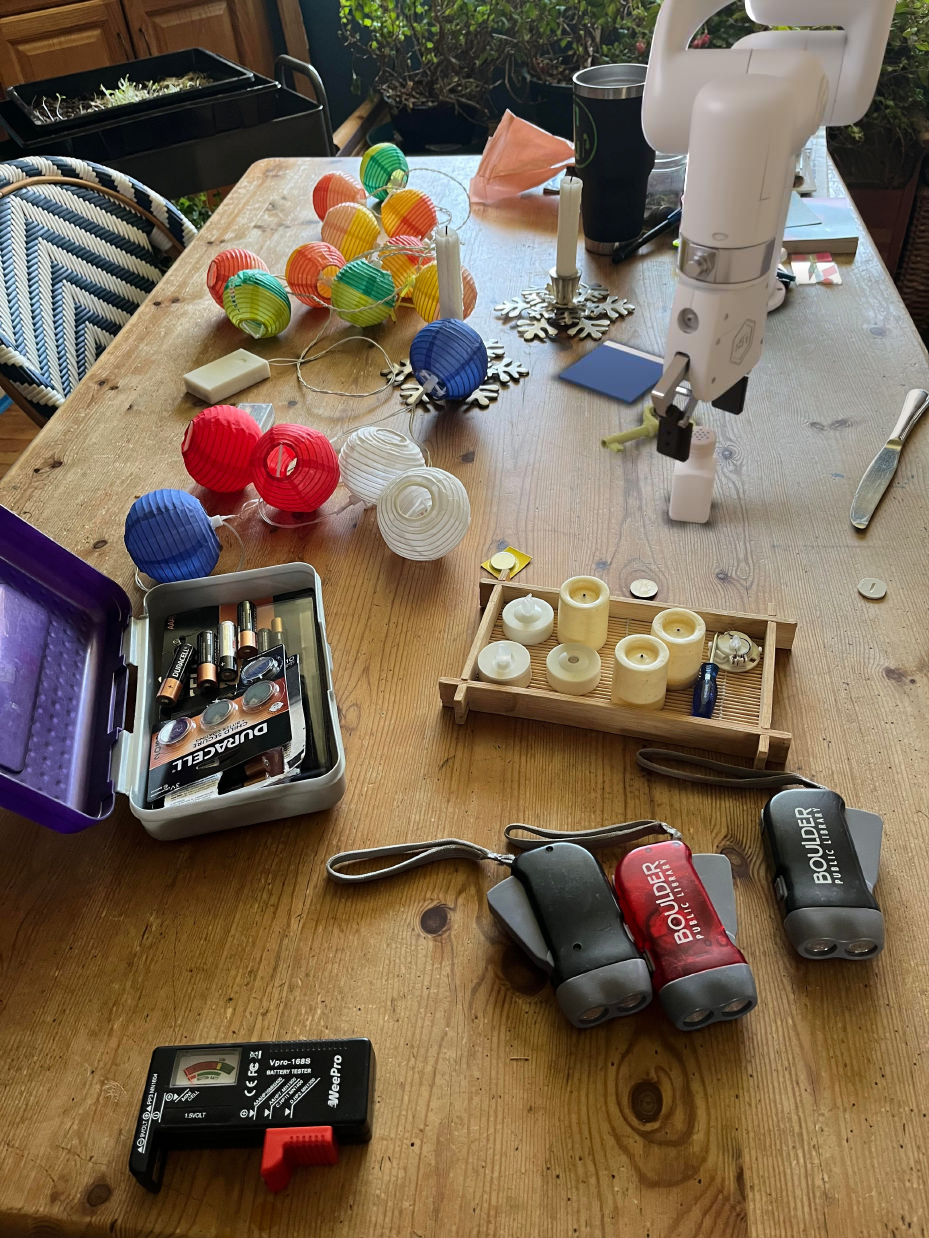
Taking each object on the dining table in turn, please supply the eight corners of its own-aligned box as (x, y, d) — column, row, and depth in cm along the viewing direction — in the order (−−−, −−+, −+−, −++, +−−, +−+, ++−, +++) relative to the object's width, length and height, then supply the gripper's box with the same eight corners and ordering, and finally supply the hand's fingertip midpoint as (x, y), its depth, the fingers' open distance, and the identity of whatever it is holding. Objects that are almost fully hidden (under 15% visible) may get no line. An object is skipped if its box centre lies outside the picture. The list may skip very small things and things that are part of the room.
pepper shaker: (671, 498, 92) (680, 421, 85) (710, 502, 91) (722, 424, 84) (667, 521, 89) (676, 444, 83) (707, 526, 88) (719, 448, 82)
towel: (608, 342, 116) (608, 339, 116) (679, 366, 110) (679, 363, 110) (558, 378, 111) (558, 375, 110) (630, 404, 105) (630, 401, 105)
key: (596, 456, 98) (596, 440, 97) (654, 407, 104) (656, 391, 103) (650, 478, 95) (652, 462, 93) (708, 426, 101) (710, 410, 99)
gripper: (709, 305, 65) (685, 490, 77) (817, 227, 73) (780, 405, 85) (625, 281, 69) (615, 461, 81) (737, 210, 77) (712, 382, 89)
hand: (700, 432), depth 83 cm, fingers open, 9 cm apart
